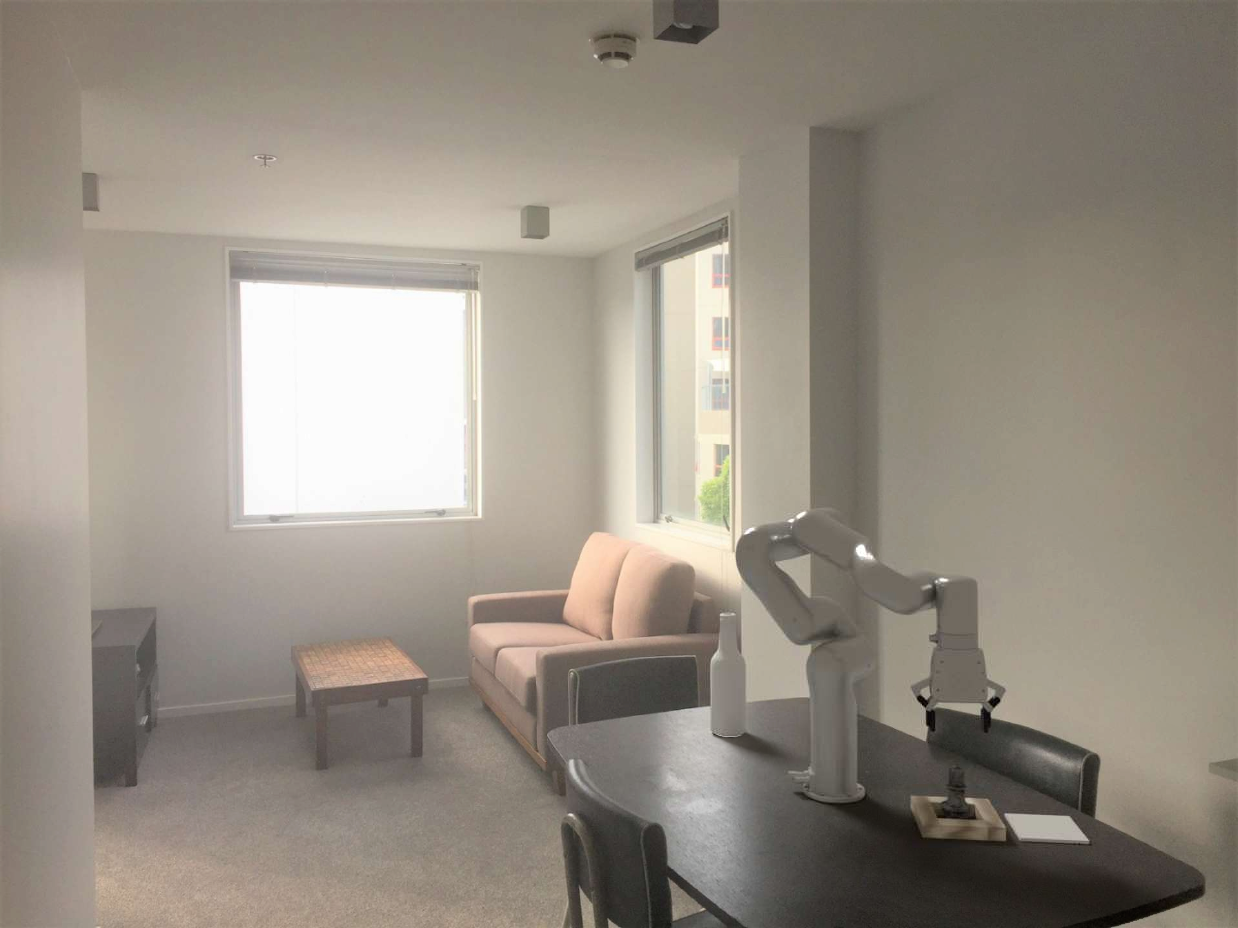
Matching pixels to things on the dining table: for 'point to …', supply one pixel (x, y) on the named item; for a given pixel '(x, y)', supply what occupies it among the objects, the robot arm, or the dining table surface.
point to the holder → (957, 820)
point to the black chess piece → (956, 796)
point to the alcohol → (728, 682)
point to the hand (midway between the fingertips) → (958, 730)
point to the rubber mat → (1046, 828)
